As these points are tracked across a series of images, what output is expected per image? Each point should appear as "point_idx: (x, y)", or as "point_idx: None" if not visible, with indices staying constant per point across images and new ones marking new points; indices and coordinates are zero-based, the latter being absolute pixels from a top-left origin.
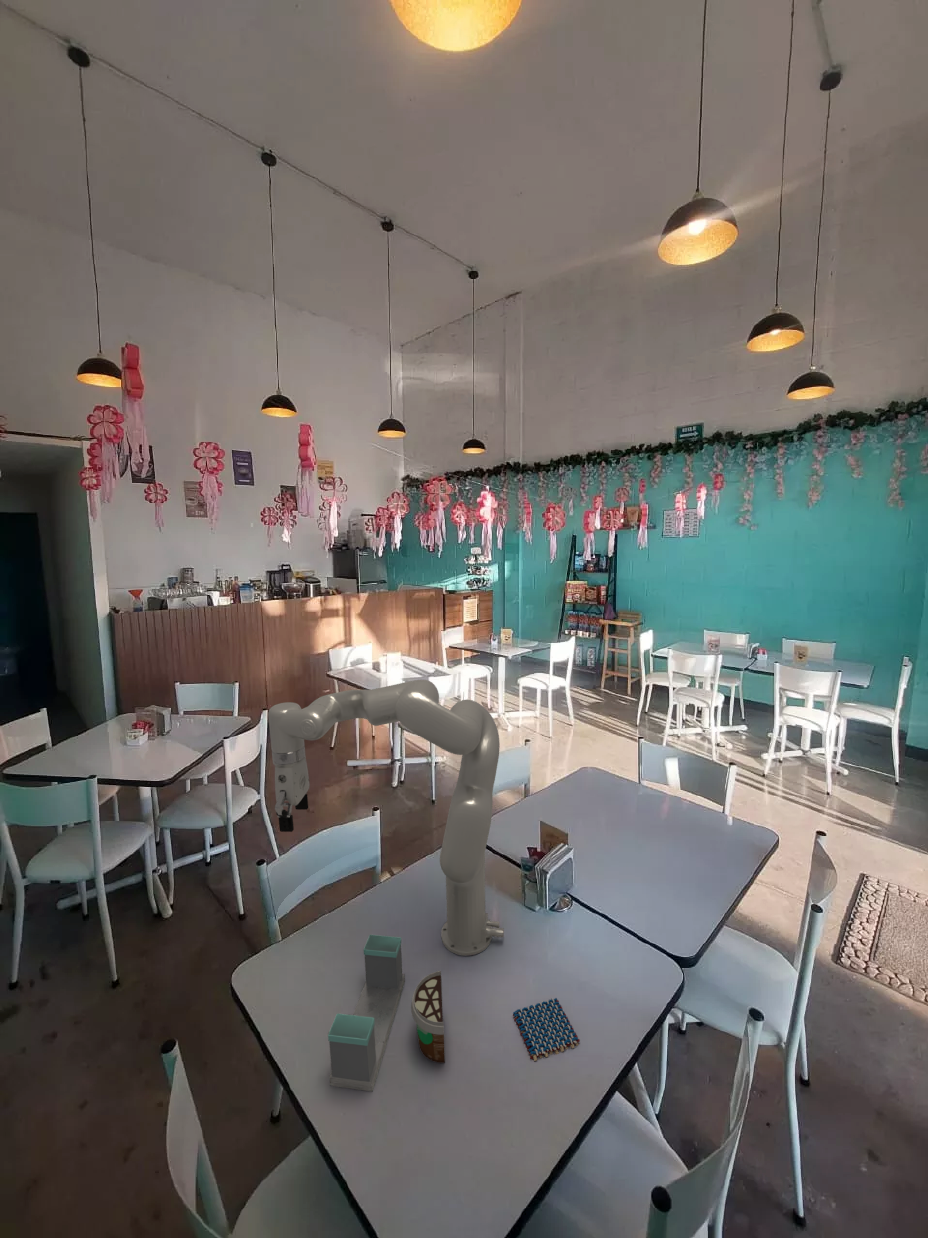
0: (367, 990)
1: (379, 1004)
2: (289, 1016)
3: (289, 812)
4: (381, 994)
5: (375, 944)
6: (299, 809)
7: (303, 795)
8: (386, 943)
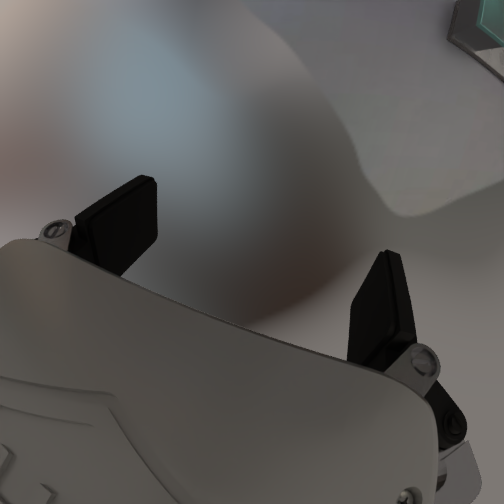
0: (483, 52)
1: (502, 47)
2: (476, 157)
3: (428, 383)
4: None
5: (500, 25)
6: (156, 220)
7: (178, 324)
8: (499, 9)
